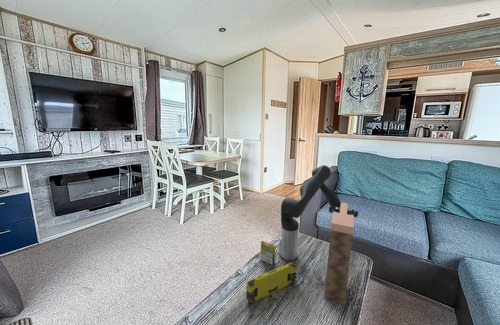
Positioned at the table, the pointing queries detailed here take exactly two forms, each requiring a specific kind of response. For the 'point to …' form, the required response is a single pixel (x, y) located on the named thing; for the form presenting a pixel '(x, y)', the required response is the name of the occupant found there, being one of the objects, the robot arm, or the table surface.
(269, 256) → the crayon box
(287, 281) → the gaming console
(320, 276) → the table surface
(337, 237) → the wooden block
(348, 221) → the paddle
